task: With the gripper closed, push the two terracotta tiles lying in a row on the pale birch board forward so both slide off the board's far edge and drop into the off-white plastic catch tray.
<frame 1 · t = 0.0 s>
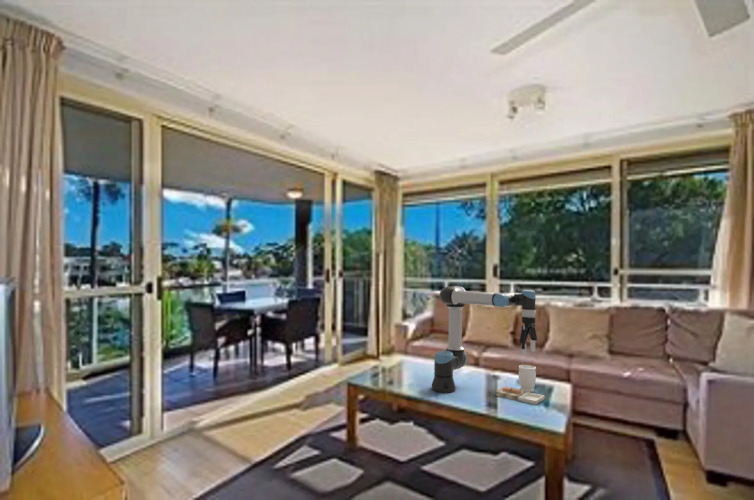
hand: (528, 353, 258), 28 cm above the table, fingers open, 13 cm apart
jar: (527, 390, 280), on the table
catch tray: (531, 400, 260), on the table
tile rear: (507, 390, 269), point 2 cm above the table, touching board
tile front: (515, 392, 266), point 2 cm above the table, touching board
board: (510, 395, 268), on the table
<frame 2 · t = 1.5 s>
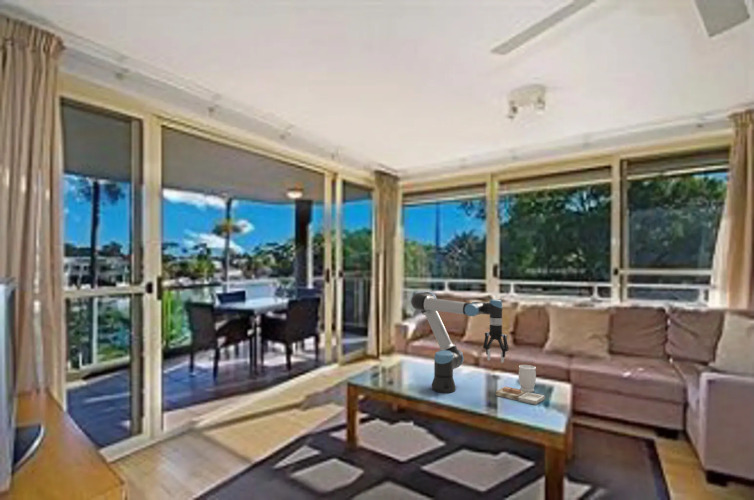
hand: (495, 361, 275), 19 cm above the table, fingers open, 8 cm apart
nothing on the table moved.
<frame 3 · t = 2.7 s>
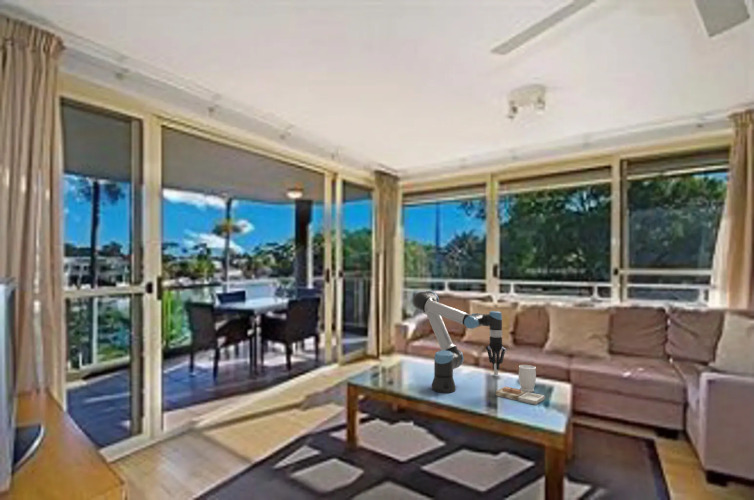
hand: (496, 374, 275), 11 cm above the table, fingers closed
nothing on the table moved.
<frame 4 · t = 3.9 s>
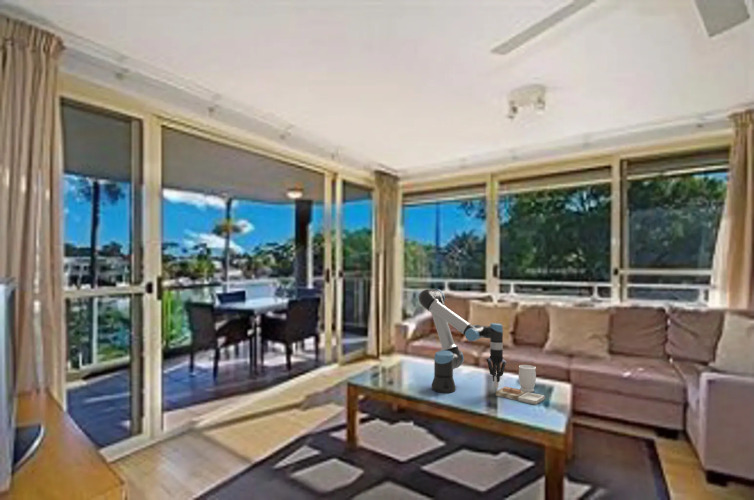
hand: (496, 386, 274), 3 cm above the table, fingers closed
nothing on the table moved.
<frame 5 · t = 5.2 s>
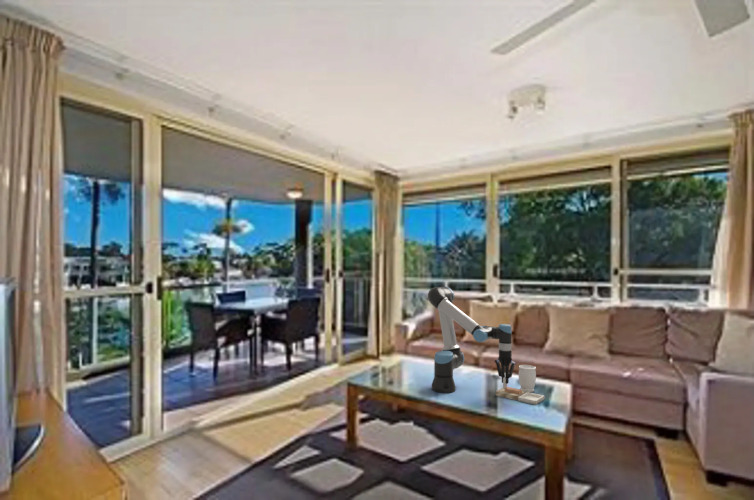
hand: (505, 388, 271), 4 cm above the table, fingers closed
tile rear: (509, 391, 269), point 2 cm above the table, touching board, gripper, tile front
tile front: (516, 392, 266), point 2 cm above the table, touching board, tile rear
everything else where it was.
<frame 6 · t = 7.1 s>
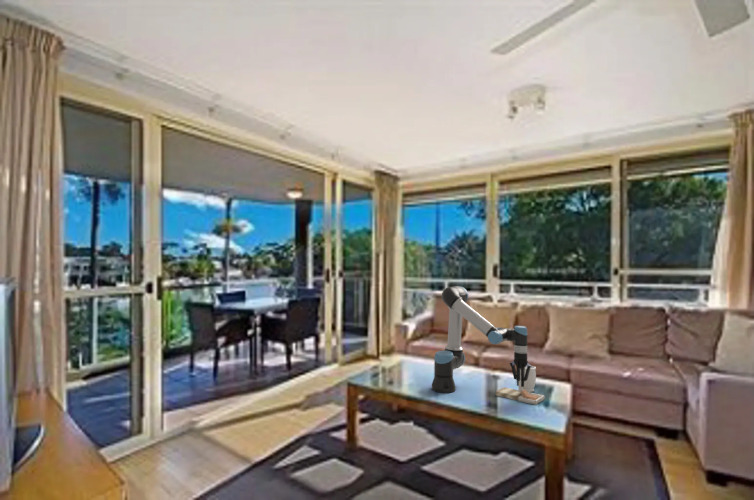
hand: (520, 391, 264), 4 cm above the table, fingers closed
tile rear: (524, 395, 263), point 2 cm above the table, tilted 42°, touching catch tray, gripper, tile front
tile front: (532, 396, 259), point 2 cm above the table, tilted 180°, touching catch tray, tile rear
everything else where it was.
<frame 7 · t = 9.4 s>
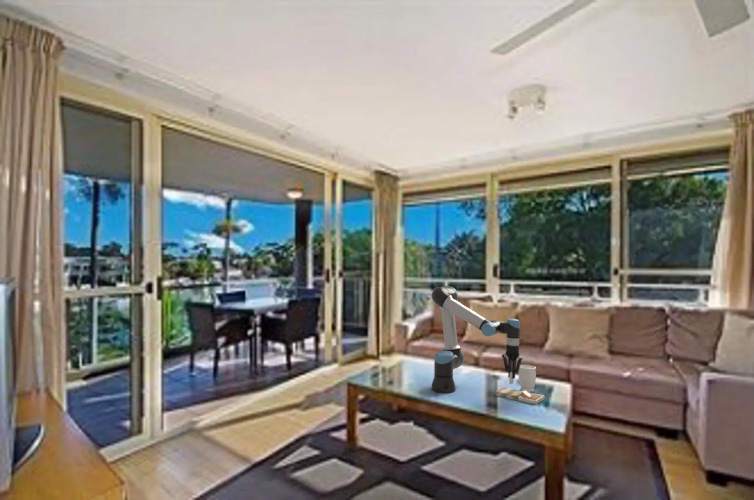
hand: (511, 383, 269), 7 cm above the table, fingers closed
tile rear: (525, 395, 262), point 2 cm above the table, tilted 30°, touching catch tray
tile front: (534, 396, 259), point 2 cm above the table, tilted 180°, touching catch tray
everything else where it was.
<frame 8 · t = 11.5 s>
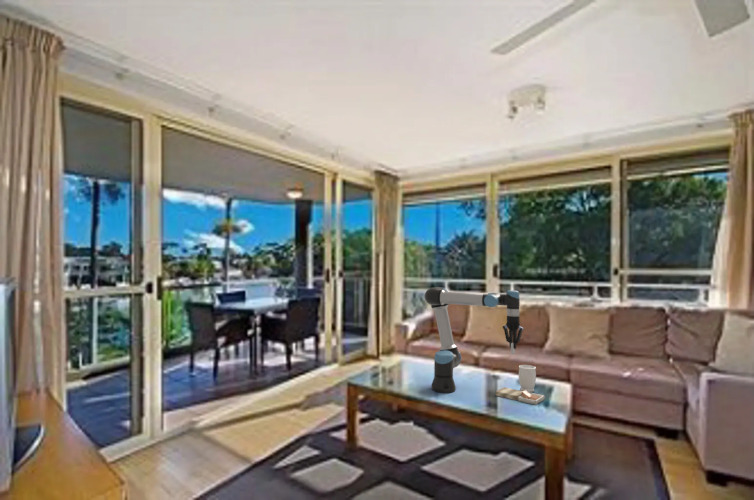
hand: (512, 353, 273), 24 cm above the table, fingers closed
nothing on the table moved.
at the end: tile rear inside the target area on the catch tray (3.7 cm from its centre), point 1.7 cm above the catch tray's base; tile front inside the target area on the catch tray (1.7 cm from its centre), point 2.4 cm above the catch tray's base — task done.
